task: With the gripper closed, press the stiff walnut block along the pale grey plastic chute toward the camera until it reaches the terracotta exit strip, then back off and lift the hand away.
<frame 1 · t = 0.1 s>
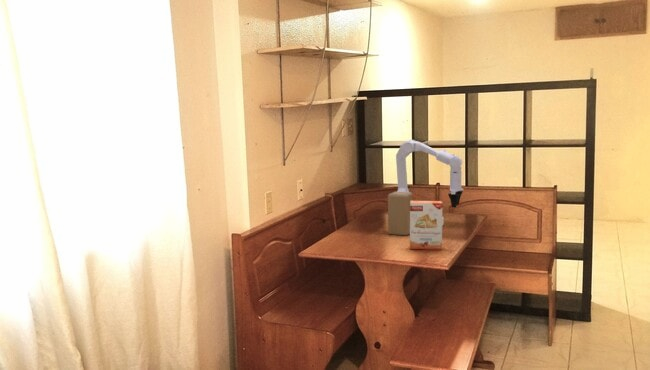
hand: (455, 206, 306), 10 cm above the table, fingers open, 7 cm apart
chute: (430, 228, 301), on the table
cracker box: (425, 248, 261), on the table
walnut block: (433, 219, 307), point 3 cm above the table, slide at 0.0 cm
wooden block: (400, 233, 291), on the table
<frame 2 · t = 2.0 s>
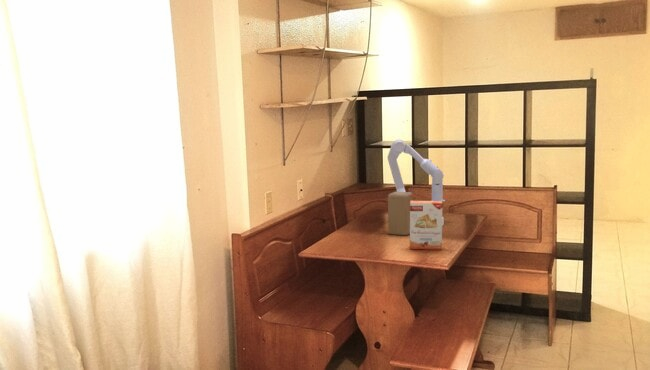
hand: (437, 217, 315), 3 cm above the table, fingers closed
nothing on the table moved.
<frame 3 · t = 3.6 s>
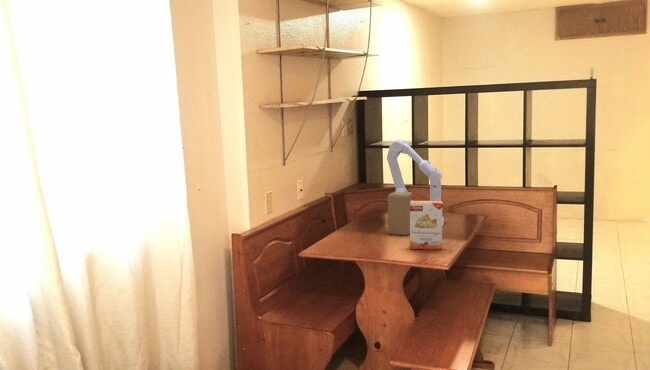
hand: (435, 219, 311), 2 cm above the table, fingers closed
walnut block: (433, 219, 307), point 3 cm above the table, slide at 0.1 cm, touching gripper
everything else where it was.
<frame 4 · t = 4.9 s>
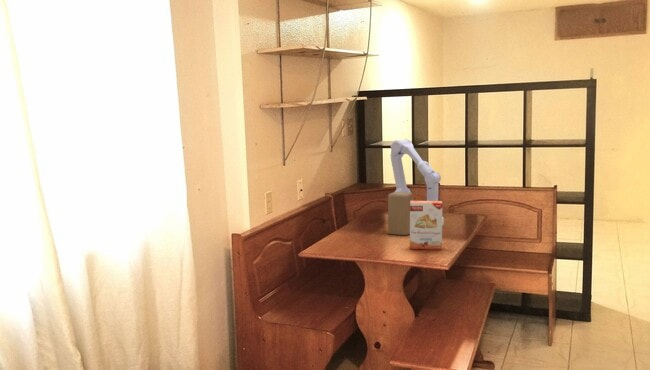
hand: (432, 222, 304), 2 cm above the table, fingers closed
walnut block: (430, 222, 300), point 3 cm above the table, slide at 7.6 cm, touching gripper
everything else where it was.
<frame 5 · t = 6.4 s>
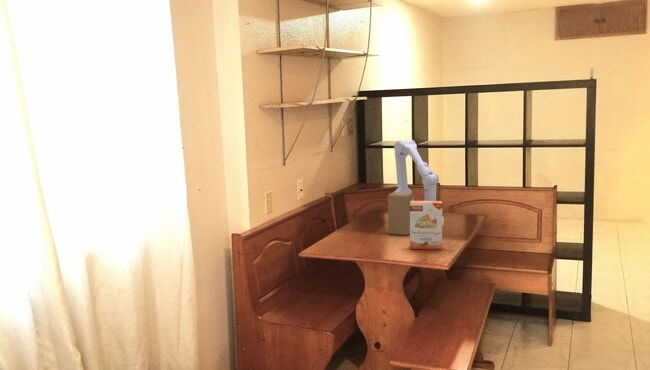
hand: (430, 224, 299), 2 cm above the table, fingers closed
walnut block: (428, 224, 294), point 3 cm above the table, slide at 13.4 cm, touching gripper
everything else where it was.
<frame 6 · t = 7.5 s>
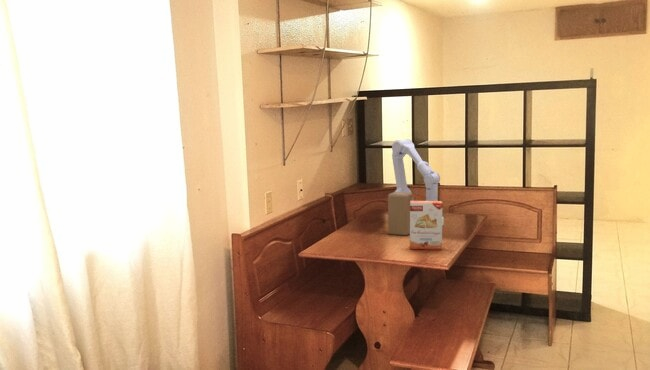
hand: (431, 223, 302), 2 cm above the table, fingers closed
walnut block: (428, 224, 294), point 3 cm above the table, slide at 13.5 cm
everything else where it was.
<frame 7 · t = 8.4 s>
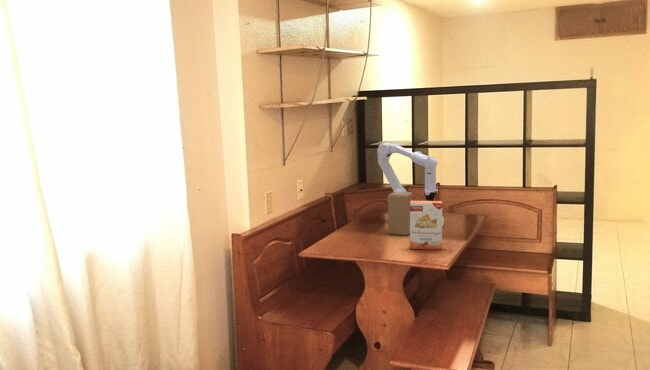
hand: (430, 206, 309), 9 cm above the table, fingers closed
nothing on the table moved.
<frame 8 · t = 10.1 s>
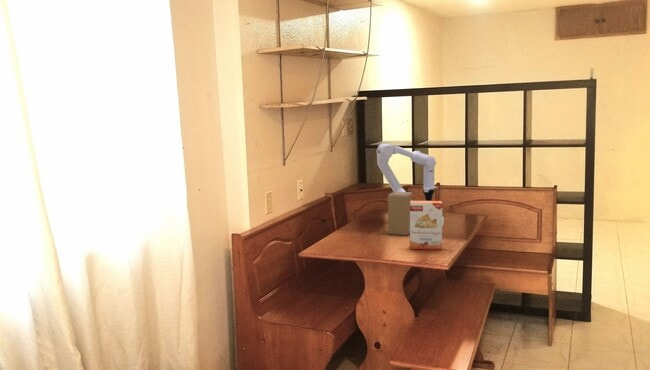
hand: (428, 203, 319), 9 cm above the table, fingers closed
nothing on the table moved.
at the end: walnut block slide at 13.5 cm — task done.
